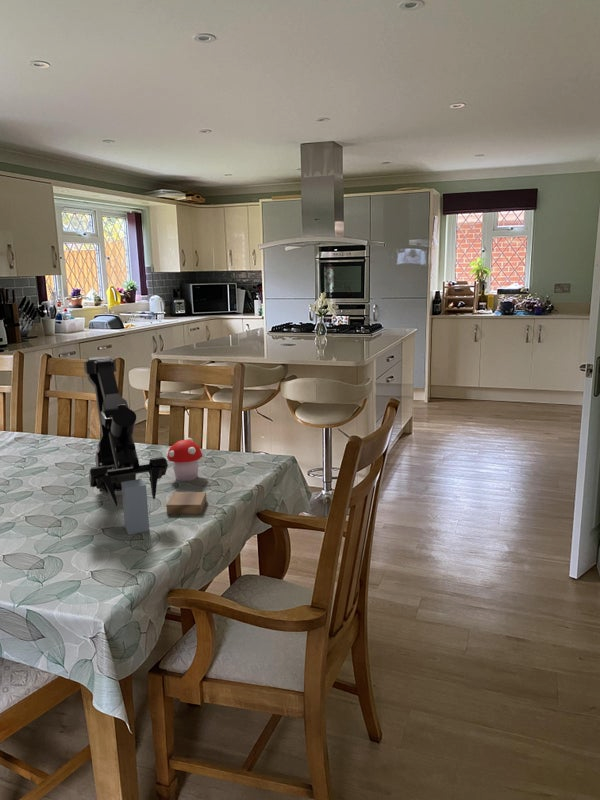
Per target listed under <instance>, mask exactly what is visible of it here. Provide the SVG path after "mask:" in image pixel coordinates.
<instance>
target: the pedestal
mask: <svg viewBox="0 0 600 800" xmlns="http://www.w3.org/2000/svg"><path fill="white" fill-rule="evenodd" d="M207 501H208V500H207V491H202V492H201V491H195V492H194V491H192V492H190V491H187V492H186V491H183V492H182V491H181V492H178V491H177V492H176V491H175V492H173V493H172V495H171V496H170V498H169V500H168V501H167V503H166V514H167V515H199V514H200V515H201V514H202V512H203V511H204V508H205V505H206V503H207Z"/></svg>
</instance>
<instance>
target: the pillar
mask: <svg viewBox="0 0 600 800" xmlns="http://www.w3.org/2000/svg"><path fill="white" fill-rule="evenodd" d="M121 487H122V490H121V496H122V499H121V500H122V509H123V519H124V528H125V530H126V532H127V534H128V535H129V536H130V535H135V534H139V533H145V532H149V531H150V520H149V505H148V493H147V492H148V491H147V484H146V483H145V481H144V480H143V479H142V478H136V480H131V481H125V482H121Z"/></svg>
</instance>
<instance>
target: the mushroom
mask: <svg viewBox="0 0 600 800" xmlns="http://www.w3.org/2000/svg"><path fill="white" fill-rule="evenodd" d="M193 440H194V439H193V438H191V437H187V438H186V439H182V440H178V441H176V442H175V443H173V444H172V445H171V446H170V447H169V450H168V453H167V456H166V460H168V461H169V462H173V466H172V467H173V472H174V475H175V479H176V481H177V480H178V481H184V482H185V481H193V480H195V479H198V475H199V474H198V473H199V467H200V466H199V460H200V459H201V458H202V457H203V453H202V449H201V448H200V445H199V444H197V443H196V442H194V441H193Z"/></svg>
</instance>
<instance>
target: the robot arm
mask: <svg viewBox="0 0 600 800" xmlns="http://www.w3.org/2000/svg"><path fill="white" fill-rule="evenodd" d="M83 368H84V374H86V376H87V380H88V381H89V383H90V384H91V385H92V386H93V387H94V390H95V398H96V406H97V415H98V419H99V428H100V434H101V435H100V439H99V442H98V443H97V446H96V448H97V450H96V451H95V458H94V460H95V466H93V467H91V468H90V469H89V476H88V477H89V478H88V479H89V480H88V481H89V485H90V487H91V488H96V489H97V490H98V489H99V491H101V492H102V491H104V492H105V493H106V494H107V495H108V497H109V499H110V500H111V502H112V503H113V504H114V506H115V507H117V506H118V499H117V496H116V493H115V491H122V487H121V482H125V481H131V480H137V478H136V477H137V475H139V474H143V473H148V474H149V482H150V487H151V488H150V490H151V491H150V492H151V496H152V500H156V494H157V485H158V480H160V479H161V478H162V477H163V476H165V475H166V474H167V470H168V461H167V460H168V459H167V458H165V457H164V456H160V457H159V456H158V457H154V458H149V462H148V463H147V464H141V465H140V463H139V461H140V459H139V457H138V453H137V450H136V444H135V440H134V437H133V436H134V432H135V427H136V422H137V414H136V412H135V411H134V410H133V409H132V408H130V407H129V405H128V402H127V400H126V399H125V398H124V397H122V396H121V395H120V394H121V393H120V390H119V387H118V383H117V380H116V376H115V375H116V374H115V372H117V361H116V359H112V358H110V356H109V355H108V356H106V355H105V356H92V357H87V361H83Z"/></svg>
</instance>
